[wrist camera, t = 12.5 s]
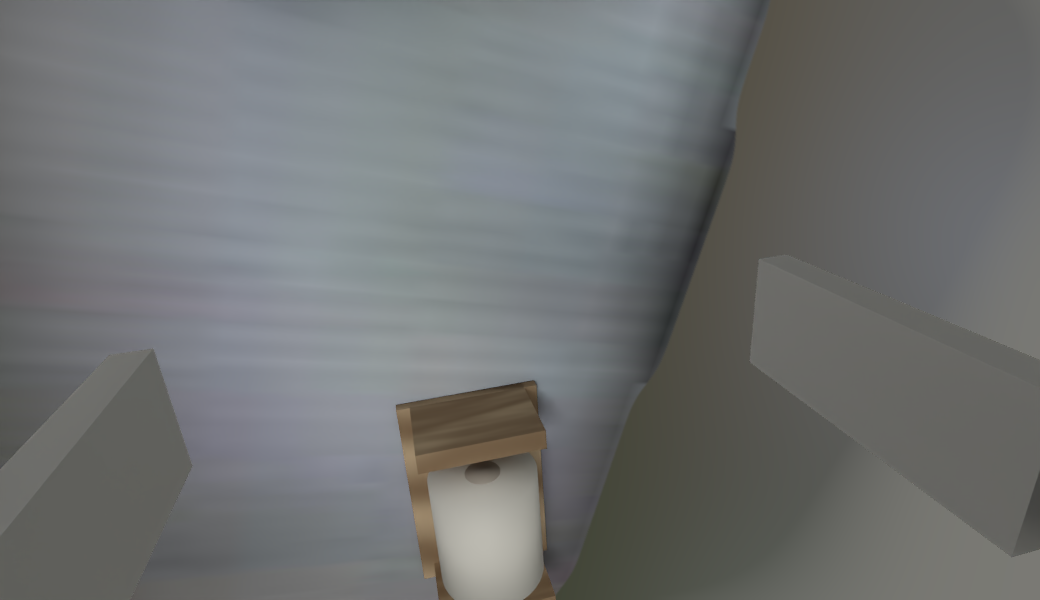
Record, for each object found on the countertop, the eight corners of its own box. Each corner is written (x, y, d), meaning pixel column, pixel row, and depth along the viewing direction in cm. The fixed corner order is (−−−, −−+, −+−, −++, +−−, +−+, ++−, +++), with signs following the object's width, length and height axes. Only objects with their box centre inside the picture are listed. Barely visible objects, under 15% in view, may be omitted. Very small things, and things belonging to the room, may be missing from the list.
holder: (395, 405, 45) (399, 458, 38) (533, 380, 47) (559, 427, 40) (423, 571, 51) (431, 642, 44) (544, 543, 53) (568, 606, 47)
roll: (423, 450, 45) (431, 521, 38) (523, 431, 47) (550, 496, 39) (437, 540, 48) (447, 622, 41) (530, 520, 50) (556, 596, 43)
